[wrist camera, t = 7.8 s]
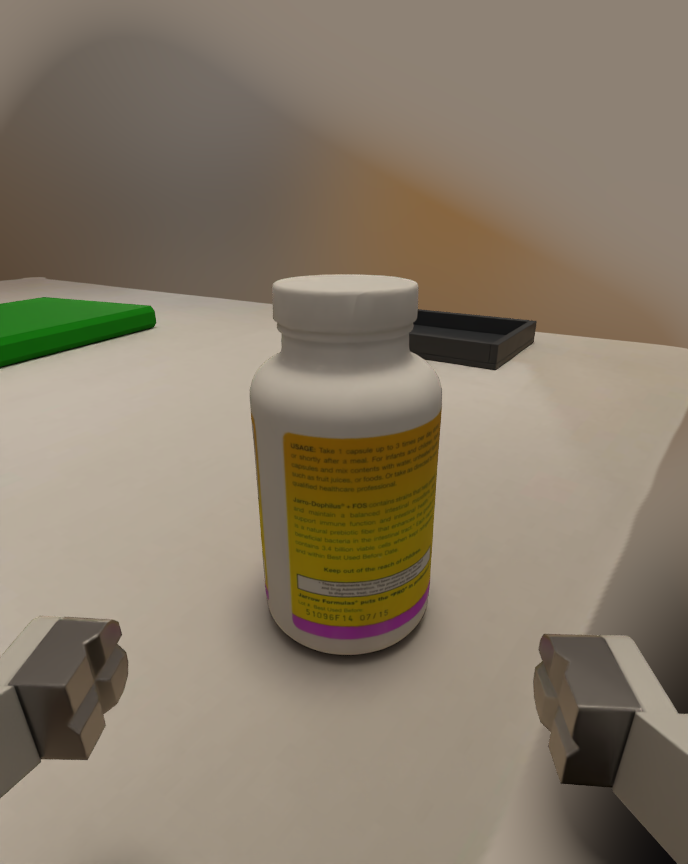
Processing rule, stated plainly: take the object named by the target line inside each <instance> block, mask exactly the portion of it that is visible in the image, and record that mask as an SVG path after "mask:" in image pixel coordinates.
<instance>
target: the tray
mask: <svg viewBox="0 0 688 864" xmlns="http://www.w3.org/2000/svg"><path fill="white" fill-rule="evenodd" d="M413 325H414V327H413V330H412V331H411V332H409V350H410V352H412V353H414V354H416V355H418V356H420V357H421V358H423V359H428V360H435V361H441V362H448V363H455V364H461V365H468V366H474V367H481V368H487V369H494V370H496V369H497V368H499V367H500V366H501V365H503V364H504V363H505V362H507V361H508V360H510V359H511V358H512V357H514V356H515V355H516V354H518V353H519V352H520V351H522V350H523V349H525V348H526V347H527V346H529V345H530V344H531V343H533V342H534V336H535V329H536V321H529V320H520V319H511V318H500V317H490V316H480V315H470V314H460V313H450V312H439V311H429V310H419V309H418V313H417V319H416V321H415V322H413Z"/></svg>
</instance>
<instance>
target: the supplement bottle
mask: <svg viewBox="0 0 688 864" xmlns="http://www.w3.org/2000/svg"><path fill="white" fill-rule="evenodd" d="M417 313H418V284H417V283H416V282H415V281H412V280H409V279H405V278H399V277H391V276H376V275H313V276H302V277H292V278H287V279H282V280H278V281H276V282H274V284H273V319H274V321H276V322H277V329H278V331H279V332H281V333H282V339H281V342H282V349H281V352H280V353H277V354H276V355H274V356H272V357H271V358H269V359H268V360H267V361H265V362H264V363H263V364H262V365H261V366H260V368H259V369H258V370H257V372H256V373H255V375H254V377H253V380H252V383H251V387H250V406H251V419H252V430H253V439H254V452H255V464H256V476H257V487H258V500H259V514H260V527H261V540H262V553H263V565H264V576H265V588H266V595H267V602H268V606H269V610H270V612H271V615H272V617H273V618H274V620H275V622H276V623H277V625H278V626H279V627H280V628H281V629H282V630H283V631H284V632H285V633H286V634H287V635H288V636H290V637H291V638H292V639H294V640H295V641H297V642H298V643H300V644H302V645H304V646H306V647H309V648H311V649H314V650H317V651H321V652H324V653H330V654H337V655H357V654H364V653H370V652H374V651H378V650H381V649H384V648H386V647H389V646H391V645H393V644H395V643H397V642H398V641H400V640H401V639H403V638H404V637H405V636H407V635H408V634H409V633H410V632H411V631H412V630H413V629H414V628H415V627H416V626H417V624H418V623H419V622H420V620H421V618H422V616H423V615H424V612H425V610H426V607H427V603H428V596H429V585H430V568H431V554H432V539H433V522H434V508H435V493H436V477H437V463H438V449H439V436H440V423H441V409H442V388H441V384H440V380H439V377H438V375H437V373H436V372H435V370H434V369H433V368H432V366H431V365H430V364H429V363H428V362H427V361H425V360H424V359H423V358H421V357H420V356H418V355H416V354H414V353H412V352H410V350H409V332H411V331H412V330H413V327H414V325H413V322H415V321H416V319H417Z"/></svg>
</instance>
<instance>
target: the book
mask: <svg viewBox="0 0 688 864" xmlns="http://www.w3.org/2000/svg"><path fill="white" fill-rule="evenodd" d="M155 324H156V317H155V311H154V310H153V308H152V307H151V306H147V305H135V304H122V303H110V302H97V301H85V300H72V299H60V298H48V297H42V298H36V299H29V300H23V301H16V302H10V303H3V304H0V367H3V366H6V365H10V364H14V363H18V362H22V361H26V360H29V359H33V358H37V357H41V356H45V355H49V354H53V353H56V352H60V351H64V350H68V349H72V348H76V347H79V346H83V345H87V344H91V343H95V342H99V341H102V340H106V339H110V338H114V337H118V336H122V335H125V334H129V333H133V332H137V331H141V330H145V329H148V328H152V327H154V326H155Z"/></svg>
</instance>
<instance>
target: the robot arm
mask: <svg viewBox="0 0 688 864" xmlns="http://www.w3.org/2000/svg"><path fill="white" fill-rule="evenodd" d="M121 636H122V633H121V629H120V626H119V622H118V621H115V620H111V619H94V618H78V617H52V616H39V617H37V618H35V619H33V620H31V622H30V623H29V624H28V625H27V626H26V627H25V629H24V630H23V631H22V632H21V633H20V634H19V636H18V637H17V638H16V639H15V640H14V641H13V643H12V644H11V645H10V646H9V647H8V649H7V650H6V651H5V652H4V653H3V654H2V656H1V657H0V798H1V797H2V796H3V795H4V794H6V793H7V792H8V791H9V790H10V789H11V788H12V787H14V786H15V785H16V784H17V783H18V782H19V781H20V780H21V779H23V778H24V777H25V776H26V775H27V774H28V773H29V772H30V771H32V770H33V769H34V768H35V767H36V766H37V765H38V764H39V763H41V759H61V760H88V758H89V756H90V754H91V752H92V751H93V749H94V747H95V745H96V743H97V741H98V739H99V737H100V736H101V734H102V732H103V730H104V728H105V726H106V724H105V720H104V715H103V714H105V713H106V712H107V711H109V710H110V709H111V708H112V707H114V706H115V705H116V704H117V703H118V701H119V699H120V697H121V695H122V693H123V691H124V688H125V684H126V680H127V677H128V658H127V654H126V652H125V651H124V650H123V649H122V648H121V647H120V646H119V645H118V644H117V643H118V641H119V639H120V637H121ZM539 652H540V655H541V658H542V662H541V663H540V664H539V665H538V666H536V667H535V672H534V679H533V687H534V699H535V704H536V709H537V713H538V716H539V719H540V722H541V723H542V724H543V725H544V726H545V727H546V728H547V729H548V730H549V731H550V732H551V734H550V739H549V745H548V747H549V750H550V753H551V756H552V759H553V762H554V765H555V768H556V771H557V774H558V777H559V780H560V783H561V784H574V785H586V786H599V787H612V791H613V792H614V793H615V794H616V795H617V797H619V799H620V800H621V801H622V802H623V803H624V804H625V806H626V807H627V808H628V809H629V810H630V811H631V812H632V813H633V814H634V816H635V817H636V818H637V819H638V820H639V821H640V822H641V823H642V824H643V826H644V827H645V828H646V829H647V830H648V831H649V832H650V833H651V835H652V836H653V837H654V838H655V839H656V840H657V841H658V842H659V843H660V845H661V846H662V847H663V848H664V849H665V850H666V851H667V852H668V854H669V855H670V856H671V857H672V858H673V859H674V860H675V861H676V863H677V864H688V714H678V712H677V711H676V709H675V707H674V706H673V704H672V703H671V701H670V699H669V698H668V696H667V694H666V693H665V691H664V690H663V688H662V686H661V685H660V683H659V681H658V680H657V678H656V676H655V675H654V673H653V672H652V670H651V668H650V667H649V665H648V664H647V662H646V660H645V659H644V657H643V656H642V654H641V652H640V651H639V649H638V647H637V646H636V644H635V642H634V641H633V640H632V639H631V638H629V636H616V635H599V636H597V635H568V634H544V635H543V636H542V638H541V640H540V645H539Z"/></svg>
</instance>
